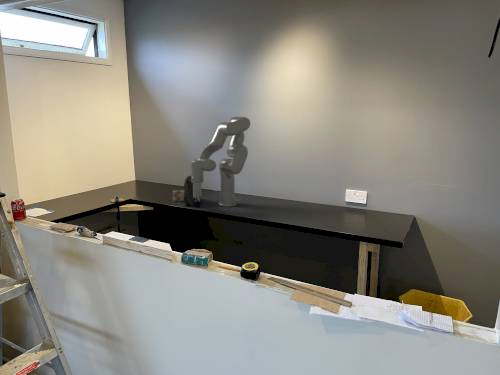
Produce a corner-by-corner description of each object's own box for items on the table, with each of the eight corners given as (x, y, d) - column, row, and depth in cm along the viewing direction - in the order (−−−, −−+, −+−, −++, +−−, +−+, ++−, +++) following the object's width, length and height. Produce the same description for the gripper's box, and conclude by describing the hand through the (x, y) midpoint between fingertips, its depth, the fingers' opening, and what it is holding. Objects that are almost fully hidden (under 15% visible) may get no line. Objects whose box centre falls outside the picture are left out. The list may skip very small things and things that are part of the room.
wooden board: (201, 199, 252) (201, 189, 251) (201, 199, 251) (201, 190, 249) (173, 200, 248) (172, 190, 246) (173, 201, 246) (172, 191, 244)
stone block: (194, 207, 231) (194, 177, 227) (182, 206, 233) (181, 177, 229) (204, 200, 248) (204, 173, 244) (193, 200, 250) (192, 172, 246)
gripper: (190, 177, 227) (191, 204, 230) (192, 181, 212) (192, 211, 216) (202, 177, 228) (202, 204, 232) (204, 181, 214) (204, 210, 218)
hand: (197, 207), depth 224 cm, fingers closed
